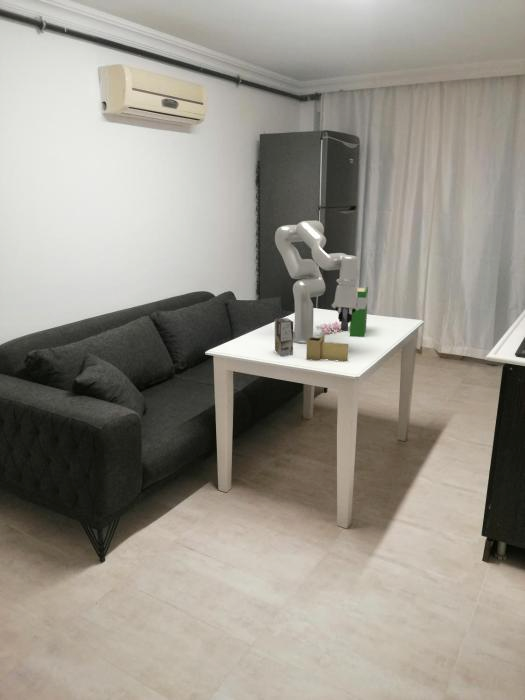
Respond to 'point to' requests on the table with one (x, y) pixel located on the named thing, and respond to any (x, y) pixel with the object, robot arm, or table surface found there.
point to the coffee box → (284, 336)
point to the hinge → (326, 349)
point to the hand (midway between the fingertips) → (344, 321)
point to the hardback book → (360, 315)
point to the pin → (344, 319)
